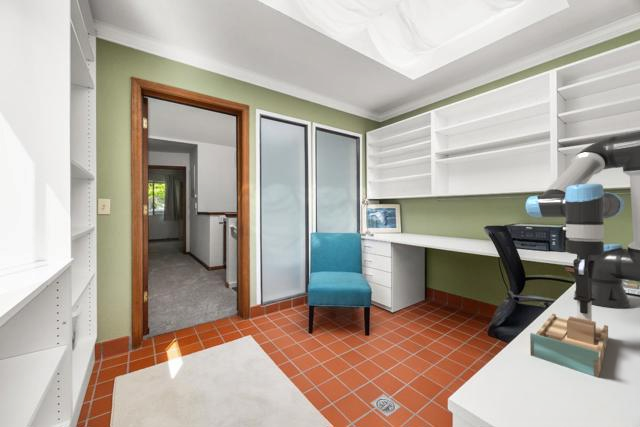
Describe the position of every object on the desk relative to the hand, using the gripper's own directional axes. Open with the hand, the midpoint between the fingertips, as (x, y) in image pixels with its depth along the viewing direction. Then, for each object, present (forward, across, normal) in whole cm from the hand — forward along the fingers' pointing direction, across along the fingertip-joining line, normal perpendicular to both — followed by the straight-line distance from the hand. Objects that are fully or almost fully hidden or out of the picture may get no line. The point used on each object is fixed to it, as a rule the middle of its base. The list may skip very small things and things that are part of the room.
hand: (584, 323), depth 73 cm
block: (+3, +5, 0) cm, 6 cm away
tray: (+5, +6, -2) cm, 8 cm away
